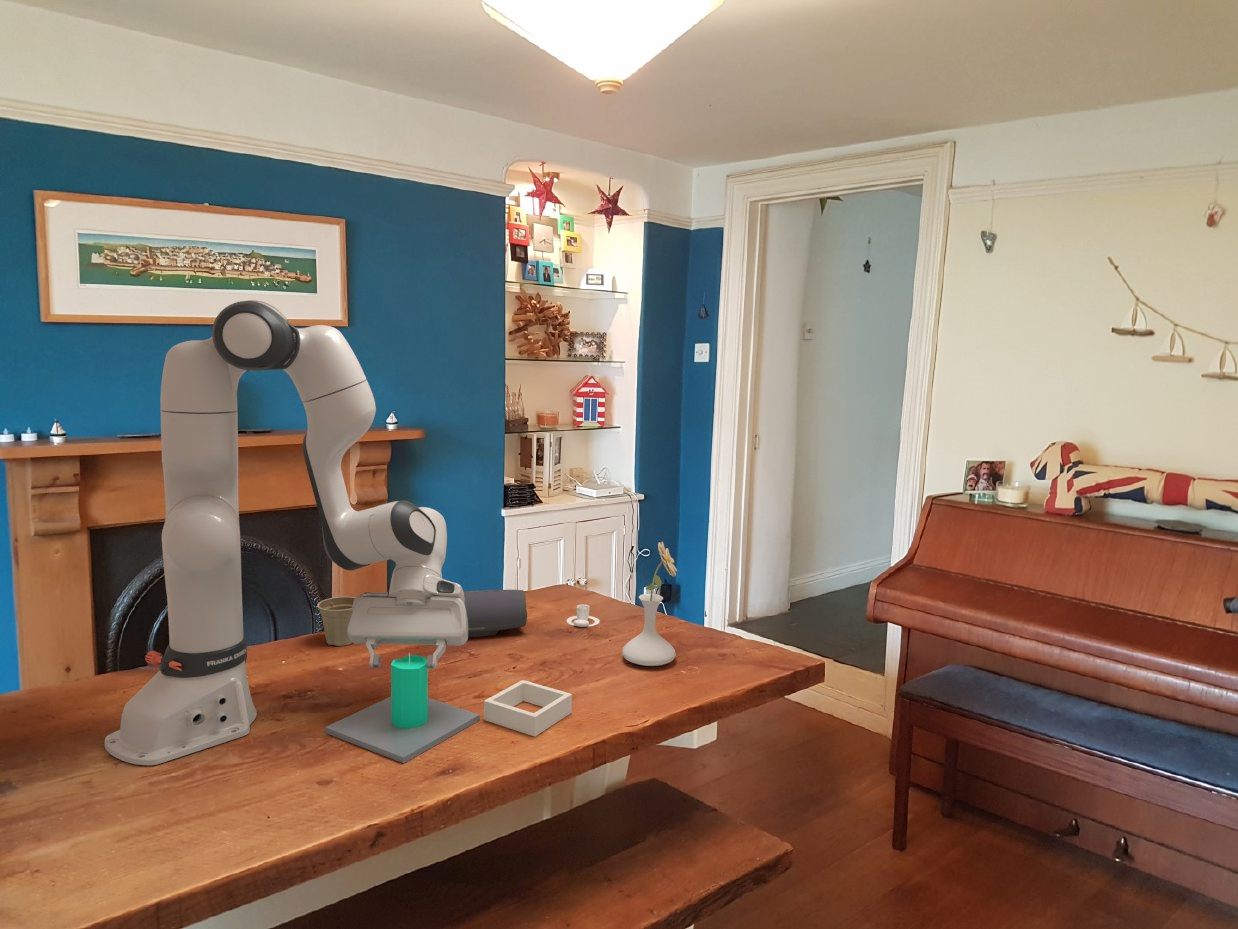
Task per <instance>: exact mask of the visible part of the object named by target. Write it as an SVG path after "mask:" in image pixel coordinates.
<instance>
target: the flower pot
mask: <svg viewBox="0 0 1238 929" xmlns="http://www.w3.org/2000/svg"><path fill="white" fill-rule="evenodd" d="M356 597H357V596H334V597H328V598H326V599H323V600H321V601H320V602H318V603H317V606H316V607H317V608H318V609H319V614H320V615H321V620H322V624H323V630H324V636H325V640H326V644H328V645H329V646H332V645H334V646H335V647H343V646H349V645H352V644H354V643H353V642H352V641H351V639H350V638H349V636H348V633H347V629H348V625H349V622H350V618H351V616H352V613H353V612H352V606H353V602H354V599H355V598H356Z"/></svg>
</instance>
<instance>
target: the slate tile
mask: <svg viewBox="0 0 1238 929" xmlns="http://www.w3.org/2000/svg"><path fill="white" fill-rule="evenodd" d="M480 720H481V715H480V714H479V713H475V712H472V711H469V710H468V709H467V710H466V709H463V708H461V707H460V708H459V707H458V706H455V705H451V704H449V703H446V702H442V701H439V700H436V699H433V698H431V697H428V720H427V722H426V723H425V724H423V725H421V726H419V727H414V728H399V727H396V726H394V725H393V723H392V717H391V696H388V697H387V698H384V699H382V700H381V701H379V702H375V703H374V704H372V705H370V706H367V707H365V708H363V709H361V710H359V711H356V712H355V713H353V714H351V715H347V716H346V717H344V718H342V719H340V720H337V721H335V722H333V723H331V724H329V725H327V726H325V727H324V734H327V735H330V736H332V737H334V738H338V739H340V740H341V741H345V742H348V743H351V744H352V745H354V746H355V745H356V746H357V747H360V748H363V749H366V750H368V751H369V752H374V753H376V754H379V755H381V756H384V757H386V758H389V759H391V760H394V761H396V762H399V763H402V764H405V763H407V762H409V761H410V760H412V759H414V758H416V757H417V756H420V755H421V754H423V753H425V752H427V751H428V750H430V749H432V748H434V747H436V746H437V745H439V744H440V743H442V742H444V741H446V740H447V739H449V738H451V737H453V736H455V735H456V734H458V733H460V732H461V731H464V730H465V729H467V728H469V727H470V726H472V725H475V723H478V722H479V721H480Z"/></svg>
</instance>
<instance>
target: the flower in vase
mask: <svg viewBox="0 0 1238 929" xmlns="http://www.w3.org/2000/svg"><path fill="white" fill-rule="evenodd" d="M657 548H658V549H657V550H658V553H659V555H660V558H661V559H660V560H661V561H660V563H659V564H658V565H657V567H656V570H655V572H654V575H653V576H652V577H653V578H652V583H649V585H648V586H647V587H646V588H645V590H649V591H650V593H643V594H640V595H639V596H638V599H639V600H640V601H641V603H642V606H643V610H644V625H643V626H644V627H643V630H642V631H641V632H640V633H639V634H638V635H636V636H635V637H633V638H632V639H631V640H629V641H628V642H627V643H626V644H625V645H624V646H623V647H622V649H621V655H622V656H623V658H624V659H625V660H626V661H628V662H630V663H632V664H636V665H640V666H644V667H645V666H646V667H655V666H656V667H657V666H663V665H666V664H669V663H671V662H672V661H673V660H674V659H675V658H676V655H677V653H676V650H675V647H673V646H672V644H671V643H669V642H668V641H667V640H666V639H665V638H663V637H662V636H661V635H660V634H659V633H658V631H657V628H656V618H657V617H656V616H657V612H658V607H659V605H660V604H661V602H662V601H663V600H664V597H663V596H662V595H660V594H656V593H653V591H654V590H656V589H657V588H660V587H661V586H662V584H663V583H662V580H661V579H662V578H660V576H659V575H657V573H658V571H659V569H660V567H661V566H662V564H663V566H664V568H665V569H666V571H667V573H668V574H669V576H672V577H677V573H676V572H678V569H677V567H676V566H675V564H674V563H675V560H674V558H673V557H671V553H670V550H669V547H667V548H665V544H664V541H661V542H658V544H657Z"/></svg>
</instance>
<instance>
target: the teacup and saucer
mask: <svg viewBox="0 0 1238 929" xmlns="http://www.w3.org/2000/svg"><path fill="white" fill-rule="evenodd" d="M589 619H591V620H593V621H594V622H593V623H592V624H590V621H589ZM573 620H574V621H573ZM572 621H573V622H572ZM565 622H566V623H567V624H568V625H570V626H573V627H579V628H588V627H589V628H590V627H594V626H597V625H599V624H600V622H601V621H600V619H599V618H598V617H595V616H593V615H592V616H591V615H590V605H589V604H578V605H576V615H573V616H570V617H568V618H567V619H566V621H565Z"/></svg>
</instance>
